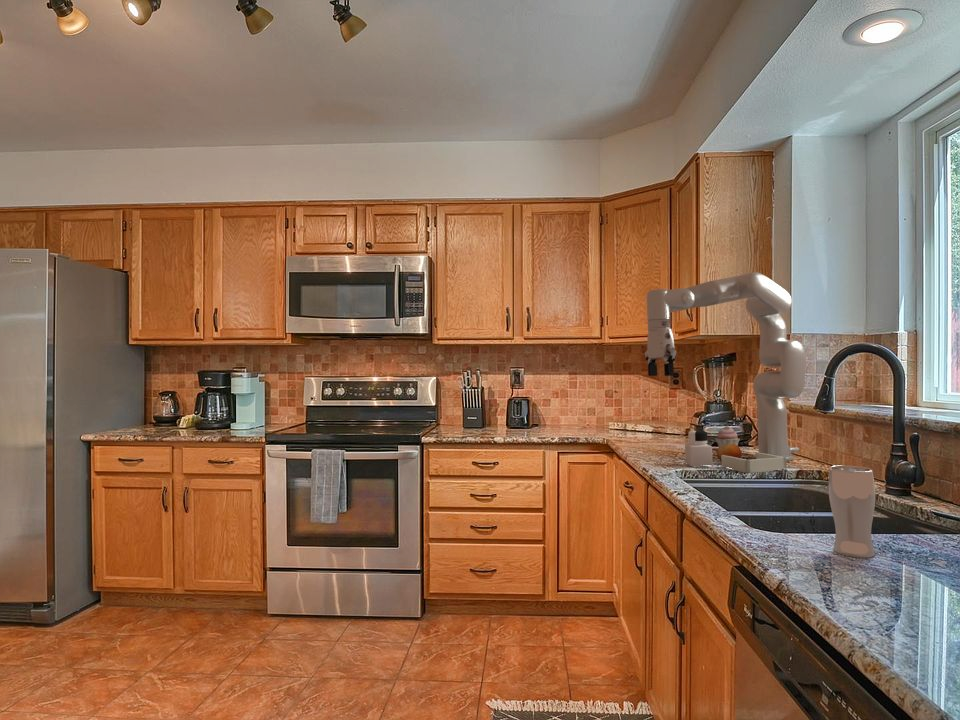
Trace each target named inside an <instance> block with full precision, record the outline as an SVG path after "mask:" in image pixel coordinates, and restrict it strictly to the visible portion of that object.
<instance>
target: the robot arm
mask: <svg viewBox="0 0 960 720" xmlns="http://www.w3.org/2000/svg"><path fill="white" fill-rule="evenodd" d="M744 299H746V301H745V308H746V311H747V312H748V314H749V315H750V316H751V317H753V319H755V321H756V323H757V324H758V326H759V333H760V335H759V352H758V353H759V356H758V357H759V362H760V363H761V365H763V366H764V367H767V368H780V370H767V371H762V372H759V373H758V374H757V375H756V376H755V377H754V380H753V382H752V383H753V384H752V385H753V386H752V387H753V392H754V395H755V400H756V409H757V410H756V412H757V435H758V436H757V439H758V440H757V441H758V453H764V454H770V455H775V456H781V457H786V462H789V461H793V460H794V456H793V455H792V454H793V453H799V452H800V448H799V447H798V446H793V447H791V445H789V437H788V435H789V433H788V409H787V406H786V402H785V401H784V399H795V398H798V397H799V396H801V394H802V393H803V392H804V388H805V384H806V383H805V381H806V380H805V379H806V366H807V365H806V364H807V354H806V349H805V347H804V346H803V345H802V343H801V342H799V341H797V340H794V339H787V338H788V337H787V335H788V334H787V324H786V322H785V319H784V318H782V316H781V314H784V313H786V312H788V311H789V310H790V309H791V307H792V305H793V300H792V297H791V294H790V293H789V292H788V291H787V290H786V289H785V288H783V287H782V286H780V285H779V284H778V283H777V282H775V281H773V280H772V279H771V278H769V277H768V276H766V275H764V274H762V273H761V272H757V271H752V272H749V273H748V272H747V273H744V274H740V275H735V276H729V277H726V278H725V277H724V278H719V279H715V280H709V281H705V282H703V283H698V284H696V285H693V286H690V287H685V288H684V287H681V288H674V289H667V288H666V289H665V288H654V289H650V290H648V291H647V293H646V315H647V316H646V318H647V340H646V343H647V345H646V351H645V352H644V355H645V360H646V364H647V370H648V371H647V374H648V377H657V376H658V364H657V361H658V359H659V360H660V359H661V360H663V361H664V364H663V366H664V367H663V368H664V369H663V370H664V372H663V373H664V377H670V376H671V377H673V376H674V375H675V371H674V370H675V369H674V366H675V365H674V364H675V360H676V359H677V357H676V355H677V349H676V347H675V339H674V334H673V330H672V328H671V325H672V324H671V322H672V321H671V320H672V319H671V313H674V312H675V313H677V312H681V311H686V310H689V309H694V308H702V307H703V308H704V307H711V306H716V305H720V304H725V303H731V302H734V301H740V300H744ZM753 458H754V459H756V453H755V454H754V455H753Z"/></svg>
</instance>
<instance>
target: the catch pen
mask: <svg viewBox="0 0 960 720" xmlns="http://www.w3.org/2000/svg"><path fill="white" fill-rule="evenodd" d="M755 454H756V458H754V459H753V458H752V459H745V458H742V457H741V458H736V457H731V456H726V455H721V460H722V462H721V467H722V466H724V467H729V468H732V469H734V470H733V471H736V470H737V471H736V472H740V473H745V474H754V473H755V474H756V473H765V472H774V471H773V470H778V469H784V468H787V469H788V467H787V461H786V457H781V456H775V455H770V454H764V453H759V452H756V453H755Z"/></svg>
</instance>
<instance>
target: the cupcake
mask: <svg viewBox="0 0 960 720" xmlns="http://www.w3.org/2000/svg"><path fill="white" fill-rule="evenodd" d="M714 439H715V442H716V443H717V445H718V449H719V448H720V447H722V446H724V445H726V444H736V445H737V446H738V447H739V442H740V440H741V438H738V434H737V432H736V431H735V430H734V429H733V428H732V427H731V426H729V425H726V426H724V427H723V429H720V430H719V431H718V433H717V436H716V437H715V438H714Z"/></svg>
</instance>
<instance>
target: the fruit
mask: <svg viewBox="0 0 960 720" xmlns="http://www.w3.org/2000/svg"><path fill="white" fill-rule="evenodd" d="M742 454H743V453H742V450H741V448H740V447H739V445H738V446H737V445H736V444H726V445H724V446H722V447H720V448H719V447H718V449H717V451H716V456H717V458H718V460H719V461H720V462H721V463H722V460H721V455H726V456H731V457H736V458H741V459H742Z"/></svg>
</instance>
